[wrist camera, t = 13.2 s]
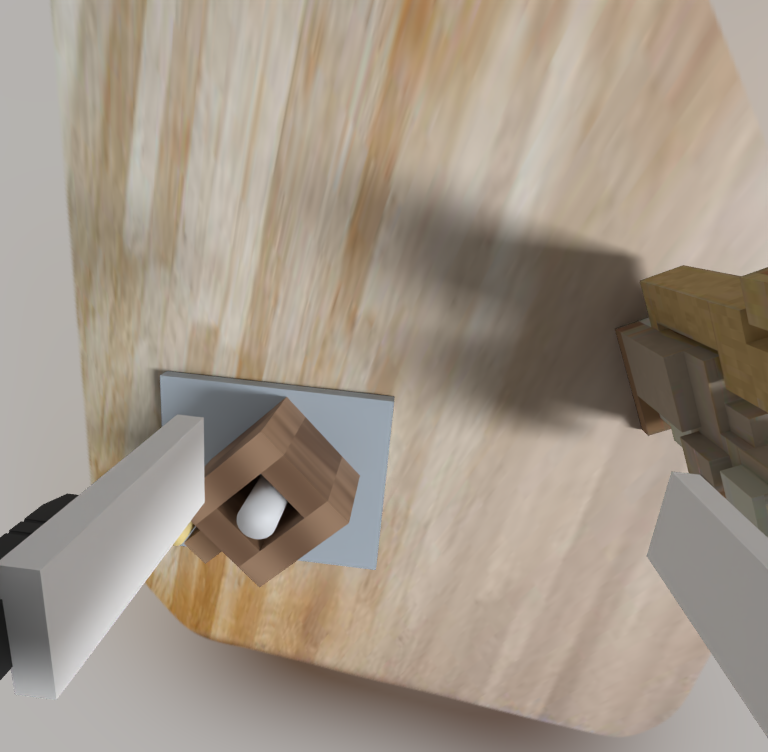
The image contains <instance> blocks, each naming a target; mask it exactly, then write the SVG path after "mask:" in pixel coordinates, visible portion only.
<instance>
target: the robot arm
mask: <svg viewBox="0 0 768 752" xmlns="http://www.w3.org/2000/svg"><path fill="white" fill-rule="evenodd" d="M204 503H205V489H204V417H195V416H187V415H178V414H177V415H176V416H175V417H174V418H172V419H171V420H170V421H169V422H167V423H166V424H165V425H164V426H163V427H161V428H160V429H159V430H158V431H156V432H155V433H154V434H153V435H152V436H150V437H149V438H148V439H147V440H146V441H144V442H143V443H142V444H141V445H139V446H138V447H137V448H136V449H135V450H133V451H132V452H131V453H130V454H128V455H127V456H126V457H125V458H124V459H122V460H121V461H120V462H119V463H118V464H116V465H115V466H114V467H113V468H111V469H110V470H109V471H108V472H107V473H105V474H104V475H103V476H102V477H100V478H99V479H98V480H97V481H96V482H94V483H93V484H92V485H91V486H89V487H88V488H87V489H86V490H85V491H83V492H82V493H81V494H80V495H74V494H66V495H63V496H61V497H59V498H57V499H54V500H52V501H50V502H48V503H46V504H43V505H42V506H40V507H39V508H38V509H37V510H35V511H34V512H33V513H31V514H30V515H29V516H27V517H26V518H25V520H24V522H20V523H18V524H17V525H16V526H14V527H13V528H12V529H11V530H9V533H8V534H7V533H6V534H4V535H3V536H2V537H0V680H1V679H2V678H3V677H4V676H5V674H6V673H7V672H8V671H9V670H10V669H11V673H12V680H13V686H14V692H15V694H17V695H24V696H31V697H39V698H46V699H54V700H57V699H58V697H59V696H60V695H61V693H62V692H63V691H64V689H65V688H66V687H67V685H68V684H69V683H70V681H71V680H72V679H73V677H74V676H75V675H76V673H77V672H78V670H79V669H80V668H81V667H82V665H83V664H84V663H85V661H86V660H87V659H88V657H89V656H90V655H91V653H92V652H93V651H94V649H95V648H96V647H97V645H98V644H99V642H100V641H101V640H102V639H103V637H104V636H105V635H106V633H107V632H108V631H109V629H110V628H111V627H112V625H113V624H114V623H115V621H116V620H117V619H118V617H119V616H120V615H121V613H122V612H123V611H124V609H125V608H126V607H127V605H128V604H129V603H130V601H131V600H132V599H133V597H134V596H135V595H136V593H137V592H138V590H139V589H140V588H141V587H142V585H143V584H144V583H145V581H146V580H147V579H148V577H149V576H150V575H151V573H152V572H153V571H154V569H155V568H156V567H157V565H158V564H159V563H160V561H161V560H162V559H163V557H164V556H165V555H166V553H167V552H168V551H169V549H170V548H171V547H172V545H173V544H174V543H175V541H176V540H177V539H178V537H179V536H180V535H181V533H182V532H183V531H184V529H185V528H186V527H187V525H188V524H189V523H190V521H191V520H192V519H193V517H194V516H195V515H196V513H197V512H198V511H199V509H200V508H201V507H202V505H203V504H204ZM647 557H648V559H649V560H650V562H651V563H652V565H653V566H654V568H655V569H656V571H657V572H658V574H659V575H660V577H661V578H662V580H663V581H664V583H665V584H666V586H667V587H668V589H669V590H670V592H671V593H672V595H673V596H674V598H675V599H676V601H677V602H678V604H679V605H680V607H681V608H682V610H683V611H684V613H685V614H686V616H687V617H688V619H689V620H690V622H691V623H692V625H693V626H694V628H695V629H696V631H697V632H698V634H699V635H700V637H701V638H702V640H703V641H704V643H705V644H706V646H707V647H708V649H709V650H710V652H711V653H712V655H713V656H714V658H715V659H716V661H717V662H718V664H719V665H720V667H721V668H722V670H723V671H724V673H725V674H726V676H727V677H728V679H729V680H730V682H731V683H732V685H733V686H734V688H735V689H736V691H737V692H738V694H739V695H740V697H741V698H742V700H743V701H744V703H745V704H746V706H747V707H748V709H749V710H750V712H751V713H752V715H753V716H754V718H755V719H756V721H757V723H758V724H759V725H760V727H761V728H762V730H763V732H764V733H765V734H766V736H767V737H768V537H766V536H765V535H764V534H763V533H762V532H761V531H760V530H759V529H758V528H757V527H756V526H755V525H753V524H752V523H751V522H750V521H749V520H748V519H747V518H746V517H745V516H744V515H743V514H742V513H741V512H739V511H738V510H737V509H736V508H735V507H734V506H733V505H732V504H731V503H730V502H729V501H728V500H727V499H725V498H724V497H723V496H722V495H721V494H720V493H719V492H718V491H717V490H716V489H715V488H714V487H713V486H711V485H710V484H709V483H708V482H707V481H706V480H705V479H704V478H703V477H702V476H701V475H698V474H689V473H681V472H671V475H670V479H669V482H668V485H667V489H666V492H665V496H664V499H663V502H662V506H661V509H660V513H659V516H658V519H657V523H656V526H655V530H654V533H653V536H652V540H651V543H650V547H649V550H648V553H647Z"/></svg>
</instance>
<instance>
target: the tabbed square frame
mask: <svg viewBox="0 0 768 752" xmlns="http://www.w3.org/2000/svg"><path fill="white" fill-rule="evenodd" d="M259 474H262V475H263V476H264V477H265V478H266V479H267V480H268V481H269V482H270V483H271V484H272V486H273V487H274V488H275V489H276V490H277V491H278V492H279V493H280V494H281V495H282V496H283V497H284V498H285V499H286V500H287V501H288V503H287V505H286V507H285V509H284V511H283V513H282V516H281V518H280V520H279V522H278V524H277V526H276V529H275V531H274V532H273V534H272V535H270V536H269V537H267V538H264V539H253V538H250V537H248V536H246V535H245V534H243V533H242V532H241V530H240V529H239V527H238V525H237V514H238V512H239V511H240V509H241V507H242V506H243V504H244V502H245V501H246V499H247V498H248V496H249V494H250V493H251V491H252V489H253V488H254V486H255V484H256V483H257V481H258V480H259V478H260V476H259ZM359 478H360V475H359V474H358V473H357V472H356V471H355V470H354V469H353V468H352V466H351V465H350V464H349V463H348V462H347V461H346V460H345V459H344V458H343V457H342V456H341V455H340V454H339V452H338V451H337V450H336V449H335V448H334V447H333V446H332V445H331V444H330V443H329V442H328V441H327V440H326V438H325V437H324V436H323V435H322V434H321V433H320V432H319V431H318V430H317V429H316V428H315V427H314V426H313V424H312V423H311V422H310V421H309V420H308V419H307V418H306V417H305V416H304V415H303V414H302V413H301V412H300V410H299V409H298V408H297V407H296V406H295V405H294V404H293V403H292V402H291V401H290V400H289V399H288V398H287V397H286V398H284V399H283V400H282V401H281V402H280V403H278V404H277V405H276V406H275V407H274V408H272V409H271V410H270V411H269V412H268V413H266V414H265V415H264V416H263V417H262V418H260V419H259V420H258V421H257V422H256V423H254V424H253V425H252V426H251V427H250V428H248V429H247V430H246V431H245V432H244V433H242V434H241V435H240V436H239V437H237V438H236V439H235V440H234V441H233V442H231V443H230V444H229V445H228V446H227V447H225V448H224V449H223V450H222V451H221V452H219V453H218V454H217V455H216V456H215V457H213V458H212V459H211V460H210V461H209V462H208V463H207V465H206V466H205V467H204V489H205V503H204V504H203V505H202V507H201V508H200V509H199V511H198V512H197V513H196V515H195V516H194V517H193V519H192V520H191V522H192V523H193V524H194V525H195V526H196V527H195V529H194V530H193V531H192V533H191V534H190V536H189V537H188V538H187V540H186V541H185V543H184V544H185V545H186V546H187V547H188V548H189V549H190V550H191V551H192V552H193V553H195V554H196V555H197V556H198V557H199V558H200V559H201V560H202V561H203V562H204V563H205V564H206V563H207V562H208V561H210V560H211V559H212V558H214V557H215V556H216V555H218V554H219V553H220V552H221V551H222V552H223V553H224V554H225V555H227V556H228V557H229V558H230V559H231V560H232V561H233V562H234V563H235V564H236V565H237V566H238V567H239V568H240V569H241V570H242V571H243V572H244V573H245V574H246V575H247V576H248V577H249V578H250V579H251V580H252V581H254V582H255V583H256V584H257V585H258V586H259V587H261V586H262V585H264V584H265V583H266V582H268V581H269V580H271V579H272V578H273V577H275V576H276V575H277V574H279V573H280V572H282V571H283V570H284V569H286V568H287V567H289V566H290V565H291V564H293V563H294V562H296V561H297V560H298V559H300V558H301V557H303V556H304V555H305V554H307V553H308V552H309V551H311V550H312V549H314V548H315V547H316V546H318V545H319V544H321V543H322V542H323V541H325V540H326V539H328V538H329V537H330V536H332V535H333V534H335V533H336V532H337V531H339V530H340V529H341V528H343V527H344V526H346V525H347V524H348V523H349V521H350V517H351V512H352V508H353V504H354V499H355V495H356V491H357V486H358V482H359Z"/></svg>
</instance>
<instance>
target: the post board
mask: <svg viewBox="0 0 768 752" xmlns="http://www.w3.org/2000/svg"><path fill="white" fill-rule="evenodd" d="M160 389H161V416H162V427H163V426H164V425H165V424H166V423H167V422H169V421H170V420H171V419H172V418H174V417H175V416H176V415H177V414H178V415H187V416H195V417H204V467H205V466H206V465H207V463H208V462H209V461H210V460H211V459H212V458H213V457H215V456H216V455H217V454H218V453H219V452H221V451H222V450H223V449H224V448H225V447H227V446H228V445H229V444H230V443H231V442H233V441H234V440H235V439H236V438H237V437H239V436H240V435H241V434H242V433H244V432H245V431H246V430H247V429H248V428H250V427H251V426H252V425H253V424H254V423H256V422H257V421H258V420H259V419H260V418H262V417H263V416H264V415H265V414H266V413H268V412H269V411H270V410H271V409H272V408H274V407H275V406H276V405H277V404H278V403H280V402H281V401H282V400H283V399H284V398H286V397H287V398H288V399H289V400H290V401H291V402H292V403H293V404H294V405H295V406H296V407H297V408H298V409H299V410H300V412H301V413H302V414H303V415H304V416H305V417H306V418H307V419H308V420H309V421H310V422H311V423H312V424H313V426H314V427H315V428H316V429H317V430H318V431H319V432H320V433H321V434H322V435H323V436H324V437H325V438H326V440H327V441H328V442H329V443H330V444H331V445H332V446H333V447H334V448H335V449H336V450H337V451H338V452H339V454H340V455H341V456H342V457H343V458H344V459H345V460H346V461H347V462H348V463H349V464H350V465H351V466H352V468H353V469H354V470H355V471H356V472H357V473H358V474H359V475H360V478H359V482H358V486H357V491H356V495H355V499H354V504H353V508H352V512H351V517H350V521H349V523H348V524H347V525H346V526H344V527H343V528H341V529H340V530H339V531H337V532H336V533H335V534H333V535H332V536H330V537H329V538H328V539H326V540H325V541H323V542H322V543H321V544H319V545H318V546H316V547H315V548H314V549H312V550H311V551H309V552H308V553H307V554H305V555H304V556H303V557H301V558H300V559H298V560H300V561H308V562H316V563H324V564H332V565H340V566H348V567H356V568H364V569H372V570H376V564H377V555H378V546H379V537H380V527H381V518H382V509H383V499H384V490H385V481H386V472H387V462H388V453H389V444H390V435H391V425H392V416H393V407H394V397H393V396H384V395H375V394H366V393H358V392H349V391H340V390H331V389H322V388H313V387H304V386H295V385H286V384H278V383H269V382H260V381H251V380H242V379H233V378H224V377H215V376H206V375H197V374H189V373H180V372H171V371H166V372H165V373H163V374H161V375H160ZM259 476H260V478H259V480H258V481H257V483H256V484H255V486H254V488H253V489H252V491H251V493H250V494H249V496H248V498H247V499H246V501H245V502H244V504H243V506H242V507H241V509H240V511H239V512H238V514H237V525H238V527H239V529H240V530H241V532H242V533H243V534H245V535H246V536H248V537H250V538H253V539H264V538H267V537H269V536H270V535H272V534H273V532H274V531H275V529H276V526H277V524H278V522H279V520H280V518H281V516H282V513H283V511H284V509H285V507H286V505H287V503H288V501H287V500H286V499H285V498H284V497H283V496H282V495H281V494H280V493H279V492H278V491H277V490H276V489H275V488H274V487H273V486H272V484H271V483H270V482H269V481H268V480H267V479H266V478H265V477H264V476H263V475H262V474H259ZM195 527H196V526H195V525H194V524H193V523H192V522H191V521H190V523H189V524H188V525H187V527H186V528H185V529H184V531H183V532H182V533H181V535H180V536H179V537H178V539H177V540H176V541H175V543H174V544H173V546H178V545H179V546H186V545H185V544H184V543H185V541H186V540H187V538H188V537H189V536H190V534H191V533H192V531H193V530H194V529H195Z"/></svg>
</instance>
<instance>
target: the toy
mask: <svg viewBox="0 0 768 752" xmlns="http://www.w3.org/2000/svg"><path fill="white" fill-rule="evenodd" d="M640 284H641V288H642V291H643V295H644V299H645V303H646V307H647V311H648V315H649V318H646V319H643V320H640V321H637V322H634V323H631V324H628V325H625V326H622V327H619V328H617V329H615V331H616V335H617V339H618V342H619V346H620V350H621V353H622V357H623V361H624V364H625V368H626V372H627V375H628V379H629V383H630V386H631V390H632V394H633V397H634V401H635V405H636V408H637V412H638V416H639V419H640V423H641V427H642V430H643V431H644V432H645V433H646V434H647V435H648V436H649V435H652V434H655V433H659V432H662V431H665V430H668V429H672V433H673V437H674V440H675V441H676V442H677V443H678V444H679V445H680V446H681V447H682V448H683V451H684V455H685V459H686V463H687V467H688V471H689V474H698V475H701V476H702V477H703V478H704V479H705V480H706V481H707V482H708V483H709V484H710V485H711V486H713V487H714V488H715V489H716V490H717V491H718V492H719V493H720V494H721V495H722V496H723V497H724V498H725V499H727V500H728V501H729V502H730V503H731V504H732V505H733V506H734V507H735V508H736V509H737V510H738V511H739V512H741V513H742V514H743V515H744V516H745V517H746V518H747V519H748V520H749V521H750V522H751V523H752V524H753V525H755V526H756V527H757V528H758V529H759V530H760V531H761V532H762V533H763V534H764V535H765V536H766V537H768V267H767V268H764V269H762V270H759V271H756V272H753V273H750V274H747V275H744V276H736V275H731V274H726V273H720V272H715V271H710V270H705V269H700V268H694V267H689V266H684V265H683V266H680V267H677V268H674V269H672V270H669V271H666V272H663V273H660V274H658V275H655V276H652V277H649V278H646V279H643V280H641V281H640Z"/></svg>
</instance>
